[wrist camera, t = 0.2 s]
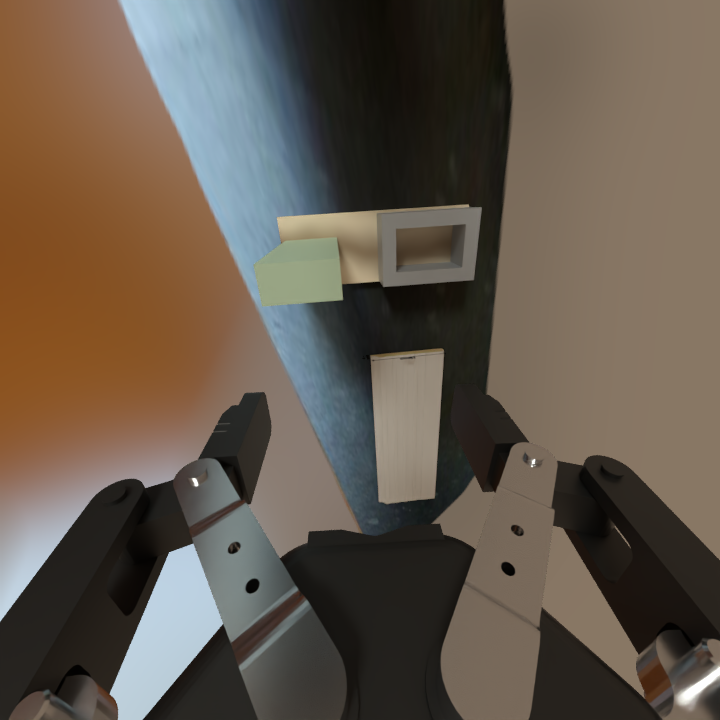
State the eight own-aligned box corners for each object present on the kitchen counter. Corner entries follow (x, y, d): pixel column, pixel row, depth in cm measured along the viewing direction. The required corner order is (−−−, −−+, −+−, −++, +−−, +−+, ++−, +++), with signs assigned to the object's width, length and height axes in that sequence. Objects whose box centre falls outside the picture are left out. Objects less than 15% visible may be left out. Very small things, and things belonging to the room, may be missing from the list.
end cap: (376, 213, 35) (381, 214, 32) (466, 207, 36) (481, 207, 32) (378, 279, 39) (383, 287, 35) (460, 273, 39) (473, 280, 35)
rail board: (278, 217, 35) (276, 217, 35) (465, 204, 36) (469, 204, 36) (289, 286, 39) (288, 288, 38) (459, 273, 40) (462, 275, 39)
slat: (285, 240, 36) (253, 264, 21) (336, 237, 36) (339, 258, 22) (289, 267, 37) (262, 306, 23) (339, 263, 37) (343, 300, 23)
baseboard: (370, 498, 59) (432, 491, 59) (372, 512, 56) (437, 504, 57) (359, 354, 45) (440, 346, 45) (361, 363, 42) (447, 354, 43)
